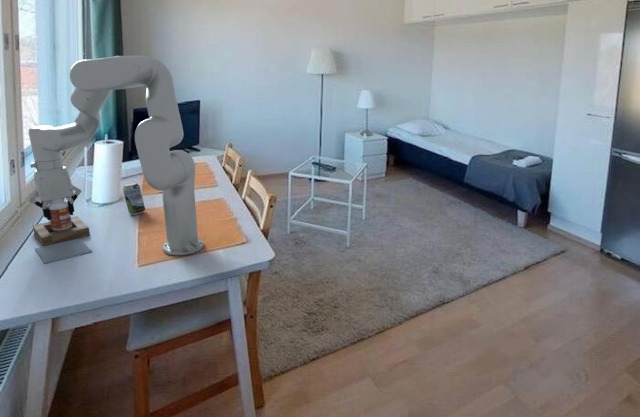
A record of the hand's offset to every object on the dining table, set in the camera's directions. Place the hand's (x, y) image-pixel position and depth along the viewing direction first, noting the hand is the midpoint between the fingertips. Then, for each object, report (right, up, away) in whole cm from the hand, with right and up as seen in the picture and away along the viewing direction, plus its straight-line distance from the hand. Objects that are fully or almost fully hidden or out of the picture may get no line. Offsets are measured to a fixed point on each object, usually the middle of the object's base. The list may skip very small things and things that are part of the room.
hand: (60, 216), depth 152 cm
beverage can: (+16, 0, +23) cm, 28 cm away
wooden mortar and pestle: (-3, -6, +4) cm, 7 cm away
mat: (+7, -11, -10) cm, 16 cm away
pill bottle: (0, -4, +1) cm, 4 cm away
